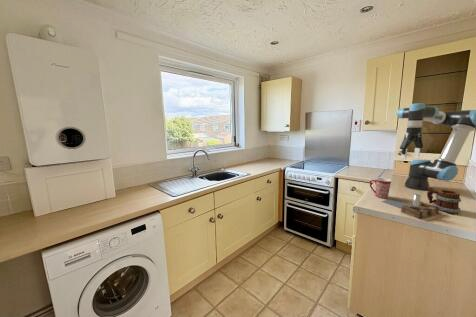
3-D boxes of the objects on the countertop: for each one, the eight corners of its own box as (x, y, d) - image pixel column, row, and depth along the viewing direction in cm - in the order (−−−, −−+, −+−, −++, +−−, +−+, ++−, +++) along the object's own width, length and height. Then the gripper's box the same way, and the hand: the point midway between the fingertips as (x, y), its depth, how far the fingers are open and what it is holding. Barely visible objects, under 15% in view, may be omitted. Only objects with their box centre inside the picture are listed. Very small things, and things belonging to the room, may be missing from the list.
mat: (394, 198, 138) (394, 198, 138) (414, 205, 127) (414, 204, 127) (380, 201, 134) (380, 201, 134) (400, 208, 123) (400, 208, 123)
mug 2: (462, 216, 110) (460, 190, 110) (427, 212, 121) (425, 189, 120) (462, 210, 118) (460, 186, 117) (429, 207, 129) (427, 184, 128)
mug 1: (390, 197, 141) (393, 179, 139) (387, 200, 135) (389, 182, 133) (370, 192, 150) (372, 175, 148) (366, 195, 144) (368, 178, 142)
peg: (413, 212, 117) (415, 193, 115) (419, 215, 114) (422, 195, 112) (409, 213, 116) (412, 194, 114) (415, 215, 113) (418, 196, 111)
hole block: (419, 207, 124) (420, 201, 123) (438, 213, 115) (439, 207, 114) (400, 212, 118) (401, 206, 117) (418, 219, 109) (419, 212, 109)
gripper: (419, 126, 139) (415, 155, 143) (395, 127, 131) (391, 158, 134) (432, 126, 132) (427, 157, 136) (408, 127, 124) (404, 160, 127)
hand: (410, 158), depth 135 cm, fingers open, 13 cm apart
